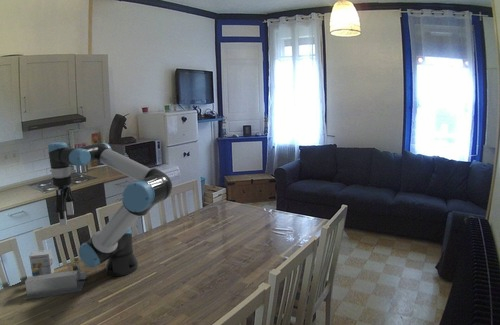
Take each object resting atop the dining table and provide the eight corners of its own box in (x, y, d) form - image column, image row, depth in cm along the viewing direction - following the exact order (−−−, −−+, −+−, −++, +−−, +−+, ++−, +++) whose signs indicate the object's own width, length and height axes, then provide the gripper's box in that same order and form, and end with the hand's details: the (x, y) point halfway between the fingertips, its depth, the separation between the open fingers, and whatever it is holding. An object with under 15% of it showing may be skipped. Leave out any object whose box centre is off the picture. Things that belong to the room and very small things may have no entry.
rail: (79, 283, 157) (77, 270, 155) (77, 288, 153) (75, 274, 152) (30, 290, 152) (28, 276, 150) (27, 296, 148) (24, 281, 146)
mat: (84, 281, 159) (84, 280, 159) (81, 291, 152) (81, 290, 152) (32, 289, 154) (32, 288, 154) (25, 299, 146) (25, 298, 146)
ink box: (32, 278, 163) (28, 255, 160) (35, 273, 167) (31, 251, 165) (51, 275, 165) (48, 253, 162) (54, 270, 170) (51, 248, 167)
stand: (87, 274, 166) (85, 256, 164) (85, 280, 160) (82, 262, 158) (32, 281, 160) (29, 263, 158) (27, 289, 154) (24, 270, 152)
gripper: (59, 170, 165) (65, 211, 170) (43, 184, 142) (50, 231, 146) (76, 169, 167) (81, 210, 172) (63, 182, 144) (69, 229, 148)
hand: (67, 219), depth 159 cm, fingers open, 13 cm apart
